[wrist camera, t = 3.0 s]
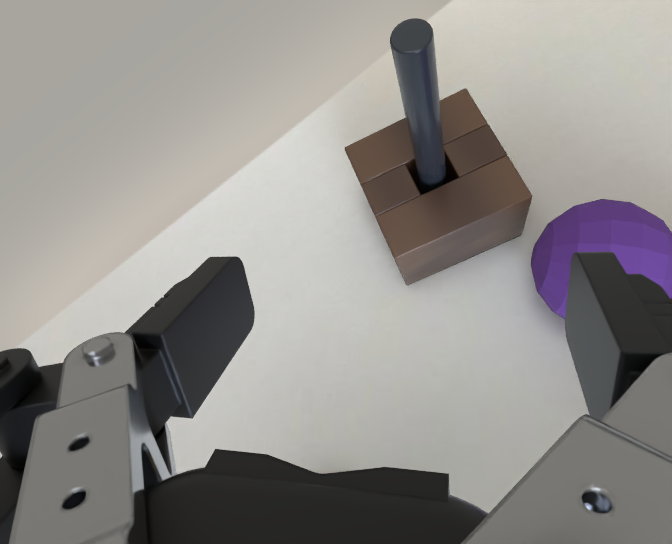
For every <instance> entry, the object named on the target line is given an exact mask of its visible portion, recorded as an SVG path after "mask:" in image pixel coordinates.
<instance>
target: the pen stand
mask: <svg viewBox="0 0 672 544" xmlns="http://www.w3.org/2000/svg"><path fill="white" fill-rule="evenodd" d="M440 111H441V122H442V132H443V143H444V154H445V165H446V175H447V184H444V185H442V186H440V187H438V188H436V189H434V190H432V191H430V192H427V193H425V194H423V195H422V192H421V187H420V182H419V178H418V173H417V168H416V163H415V159H414V154H413V149H412V144H411V140H410V135H409V130H408V125H407V121H406V118H404V119H402V120H400V121H398V122H396V123H394V124H392V125H390V126H388V127H386V128H384V129H382V130H380V131H378V132H375V133H373V134H371V135H369V136H367V137H365V138H363V139H361V140H359V141H357V142H355V143H353V144H351V145H349V146H347V147H345V151H346V154H347V156H348V158H349V160H350V162H351V165H352V167H353V169H354V171H355V173H356V175H357V178H358V180H359V182H360V184H361V186H362V189H363V191H364V193H365V195H366V197H367V200H368V202H369V204H370V206H371V208H372V211H373V213H374V215H375V217H376V219H377V222H378V224H379V226H380V228H381V230H382V233H383V235H384V237H385V239H386V241H387V244H388V246H389V248H390V250H391V252H392V255H393V257H394V259H395V261H396V263H397V265H398V268H399V270H400V272H401V274H402V276H403V278H404V280H405V283H406V285H409V284H412V283H414V282H416V281H418V280H421V279H423V278H425V277H427V276H430V275H432V274H434V273H436V272H439V271H441V270H443V269H445V268H448V267H450V266H452V265H455V264H457V263H459V262H461V261H464V260H466V259H468V258H470V257H473V256H475V255H477V254H479V253H482V252H484V251H486V250H488V249H491V248H493V247H495V246H497V245H500V244H502V243H504V242H506V241H509V240H511V239H513V238H515V237H518V236H520V235H521V234H522V231H523V228H524V224H525V221H526V217H527V214H528V210H529V207H530V203H531V199H532V195H531V193H530V191H529V190H528V188H527V186H526V185H525V183H524V182H523V180H522V178H521V177H520V175H519V173H518V172H517V170H516V168H515V167H514V165H513V164H512V162H511V160H510V159H509V157H508V156H507V154H506V152H505V151H504V149H503V147H502V146H501V144H500V142H499V141H498V139H497V138H496V136H495V134H494V133H493V131H492V129H491V128H490V126H489V125H488V124H487V122H486V120H485V118H484V117H483V115H482V113H481V112H480V110H479V109H478V107H477V105H476V104H475V102H474V100H473V99H472V97H471V96H470V94H469V92H468V91H467V89H463V90H461V91H459V92H457V93H455V94H453V95H451V96H449V97H447V98H445V99H443V100H441V101H440Z"/></svg>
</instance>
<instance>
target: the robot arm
mask: <svg viewBox="0 0 672 544" xmlns="http://www.w3.org/2000/svg"><path fill="white" fill-rule="evenodd" d="M154 305H155V306H154V307H151V308H150V309H149V310H148V311H147V312H146V313H145V314H144V315H143V316H142V317H141V318H140V319H139V320H138V321H137V322H135V323H134V324H133V325H132V326H131V327H130V328H129V329H128V330H127V331H126V332H125V333H121V332H115V333H108V334H103V335H100V336H97V337H94V338H92V339H89V340H87V341H85V342H83V343H82V344H80V345H78V346H77V347H76V348H74V349H73V350H72V351H71V352H70V353H69V354H68V355H67V356H66V358H65V359H64V362H63V363H59V364H53V365H48V366H42V367H38V365H37V363H36V362H35V360H34V358H33V356H32V354H31V352H30V351H29V350H27V349H21V348H17V349H10V350H5V351H2V352H0V452H1V454H2V455H3V456H2V457H1V458H0V544H672V301H671V299H670V298H669V296H668V295H667V293H666V292H665V291H664V289H663V288H662V286H660V285H659V284H657V283H655V282H654V281H652V280H650V279H649V278H647V277H646V276H644V275H642V274H626V272H625V270H624V269H623V267H622V265H621V264H620V262H619V260H618V259H617V257H616V255H615V254H614V252H574V253H573V256H572V259H571V266H570V276H569V285H568V294H567V304H566V314H565V328H566V337H567V341H568V345H569V348H570V351H571V355H572V358H573V361H574V365H575V368H576V371H577V374H578V378H579V381H580V384H581V388H582V391H583V394H584V398H585V401H586V404H587V407H588V411H589V414H590V415H583V416H581V417H580V418H579V419H577V420H576V421H575V422H574V423H573V424H572V426H571V427H570V428H569V429H568V430H567V431H566V432H565V433H564V434H563V435H562V436H561V437H560V438H559V439H558V440H557V442H556V443H555V444H554V445H553V446H552V447H551V448H550V449H549V450H548V451H547V452H546V453H545V454H544V455H543V456H542V458H541V459H540V460H539V461H538V462H537V463H536V464H535V465H534V466H533V467H532V468H531V469H530V470H529V471H528V473H527V474H526V475H525V476H524V477H523V478H522V479H521V480H520V481H519V482H518V483H517V484H516V485H515V486H514V487H513V489H512V490H511V491H510V492H509V493H508V494H507V495H506V496H505V497H504V498H503V499H502V500H501V501H500V502H499V503H498V505H497V506H496V507H495V508H494V509H493V510H492V511H491V512H490V513H489V514H488V513H486V512H484V511H483V510H481V509H480V508H478V507H476V506H474V505H472V504H470V503H468V502H466V501H464V500H462V499H459V498H457V497H454V496H451V495H449V474H446V473H436V472H427V471H417V470H408V469H399V468H389V467H382V468H373V469H364V470H355V471H346V472H337V473H328V474H319V473H315V472H312V471H309V470H307V469H304V468H301V467H299V466H296V465H293V464H291V463H288V462H285V461H283V460H280V459H277V458H275V457H272V456H270V455H267V454H257V453H248V452H238V451H229V450H219V449H215V451H214V453H213V454H212V456H211V458H210V460H209V461H208V463H207V465H206V467H205V468H199V469H195V470H190V471H186V472H183V473H180V474H177V473H176V467H175V460H174V454H173V448H172V441H171V435H170V431H169V428H168V426H167V423H166V422H167V421H168V419H169V418H170V416H173V417H184V418H193V417H194V415H195V414H196V412H197V411H198V409H199V408H200V406H201V405H202V403H203V402H204V400H205V399H206V397H207V396H208V394H209V393H210V391H211V390H212V388H213V387H214V385H215V384H216V382H217V381H218V379H219V378H220V376H221V375H222V373H223V372H224V370H225V369H226V367H227V366H228V364H229V363H230V361H231V360H232V358H233V357H234V355H235V354H236V352H237V351H238V349H239V348H240V346H241V345H242V343H243V342H244V340H245V339H246V337H247V336H248V334H249V333H250V331H251V329H252V327H253V323H254V315H255V314H254V306H253V302H252V298H251V294H250V290H249V286H248V282H247V278H246V274H245V269H244V266H243V263H242V261H241V259H240V258H238V257H210V258H208V259H207V260H206V261H205V262H204V263H203V264H202V265H201V266H200V267H199V268H198V269H197V270H196V271H194V272H193V273H192V274H191V275H190V276H189V277H188V278H186V279H184V280H182V281H181V282H179V283H177V284H175V285H174V286H173V287H172V288H171V289H170V290H169V291H168V292H167V293H166V294H165V295H164V298H161V299H160V300H159V301H158V302H156V303H155V304H154Z"/></svg>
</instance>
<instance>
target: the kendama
mask: <svg viewBox="0 0 672 544" xmlns="http://www.w3.org/2000/svg"><path fill="white" fill-rule="evenodd" d="M574 252H614V254H615V255H616V257H617V259H618V260H619V262H620V264H621V265H622V267H623V269H624V270H625V272H626V274H642V275H644V276H646V277H647V278H649V279H650V280H652V281H654V282H655V283H657V284H659V285H660V286H662V288H663V289H664V291H665V292H666V293H667V295H668V296H669V298H670V299H671V301H672V232H671V231H670V230H669V228H668V227H667V225H666V224H665V223H664V221H663V220H661V219H660V218H658V217H657V216H655V215H653V214H651V213H649V212H648V211H646V210H644V209H642V208H640V207H638V206H637V205H635V204H633V203H631V202H623V201H614V200H606V199H600V200H596V201H592V202H588V203H584V204H580V205H576V206H573V207H572V208H570V209H569V210H567V211H566V212H564V213H563V214H561V215H560V216H558V217H557V218H556V219H554V220H553V221H551V222H550V223H548V225H547V226H546V228H545V230H544V231H543V233H542V234H541V236H540V237H539V239H538V240H537V242H536V244H535V246H534V249H533V253H532V258H531V268H532V272H533V277H534V281H535V286H536V289H537V292H538V293H539V294H540V296H541V297H542V298H543V300H544V301H545V302H546V304H547V305H548V306H549V308H550V309H551V310H552V311H553V312H555V313H556V314H558V315H560V316H561V317H563V318H565V314H566V304H567V294H568V285H569V276H570V266H571V259H572V256H573V253H574Z"/></svg>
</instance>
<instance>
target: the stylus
mask: <svg viewBox="0 0 672 544" xmlns="http://www.w3.org/2000/svg"><path fill="white" fill-rule="evenodd" d="M390 44H391V49H392V54H393V59H394V63H395V68H396V73H397V78H398V82H399V87H400V92H401V97H402V101H403V106H404V111H405V116H406V121H407V125H408V130H409V135H410V140H411V144H412V149H413V154H414V159H415V163H416V168H417V173H418V178H419V182H420V187H421V192H422V195H423V194H425V193H427V192H430V191H432V190H434V189H436V188H438V187H440V186H442V185H444V184H447V175H446V165H445V154H444V143H443V132H442V122H441V111H440V100H439V90H438V79H437V68H436V58H435V47H434V36H433V29H432V27H431V26H430V24H429V23H428V22H426V21H425V20H422V19H408V20H405V21H403V22H402V23H400V24H399V25H397V26H396V27H395V29H394V30H393V32H392V34H391V37H390Z"/></svg>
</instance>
